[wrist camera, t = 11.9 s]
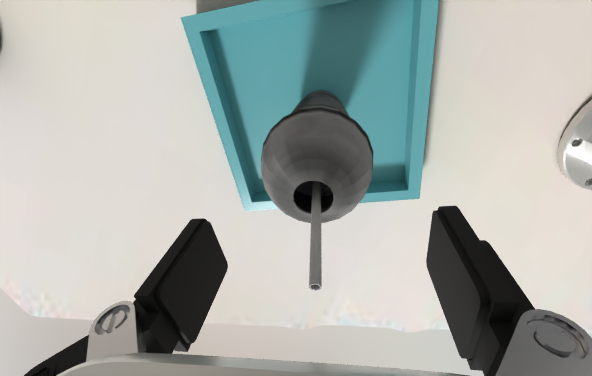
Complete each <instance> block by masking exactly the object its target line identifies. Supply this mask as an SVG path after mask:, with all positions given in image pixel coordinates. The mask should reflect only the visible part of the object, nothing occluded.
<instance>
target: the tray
mask: <svg viewBox="0 0 592 376" xmlns="http://www.w3.org/2000/svg"><path fill="white" fill-rule="evenodd" d="M438 4H439V0H259V1H254V2H250V3H245V4H241V5H236V6H232V7H227V8H222V9H218V10H213V11H209V12H204V13H200V14H195V15H191V16H186V17H182V18H181V20H182V23H183V26H184V29H185V32H186V35H187V38H188V41H189V44H190V47H191V50H192V53H193V56H194V59H195V62H196V65H197V68H198V71H199V74H200V77H201V80H202V83H203V86H204V89H205V92H206V95H207V98H208V101H209V104H210V107H211V111H212V114H213V117H214V120H215V123H216V126H217V129H218V132H219V135H220V138H221V141H222V144H223V147H224V150H225V153H226V156H227V159H228V162H229V165H230V168H231V171H232V174H233V177H234V180H235V183H236V186H237V189H238V192H239V195H240V198H241V201H242V204H243V207H244V210H245V211H255V210H269V209H279V208H278V207H277V206H276V205H275V204H274V203H273V201H272V200H271V198H270V196H269V195H268V193H267V192H266V190H265V187H264V183H263V179H262V174H261V156H262V148H263V143H264V141H265V139H266V137H267V135H268V133H269V131H270V129H271V128H272V127H273V126H274V125H276V124H277V123H278V122H279V121H280V120H281V119H282V118H283V117H284V116H287V115H289V114H291V112H292V111H293V110H294V109H295V107H296V106H297V105H298V104H299V102H300V101H301V100H302V99H303V98H304V97H305V96H307V95H308V94H309V93H311V92H313V91H318V90H324V91H329V92H331V93H332V94H334V95H336V97H337V98H338V99H339V100H340V101H341V103H342V104H343V106H344V107H345V109H346V111H347V113H348V114H349V116H350V118H352V119H354V120H355V121H357V123H358V124H359V125H360V126H361V127H362V129H363V130H364V131H365V132H366V134H367V135H368V137H369V140H370V143H371V146H372V149H373V170H372V178H371V181H370V184H369V186H368V189H367V191H366V194H365V196H364V197H363V199H362V200H361V201H360V202H359V203H366V202H380V201H393V200H407V199H420V188H421V178H422V168H423V158H424V147H425V137H426V127H427V117H428V107H429V96H430V86H431V76H432V66H433V55H434V45H435V35H436V25H437V14H438Z"/></svg>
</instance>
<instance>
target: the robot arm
mask: <svg viewBox="0 0 592 376" xmlns="http://www.w3.org/2000/svg"><path fill="white" fill-rule="evenodd" d="M557 157H558V165H559V167H560V170H561V172H562V173H563V174H564V175H565V177H566V178H568V179H569V180H571V181H572V182H573V183H575V184H576V185H578V186H580V187H582V188H585V189H589V190H592V100H591V101H589V102H588V103H587V104H586V105H585V106H584V107H583V108H582V109H581V110H580V111H579V112H578V114H577V115H576V116H575V117H574V118H573V119H572V121H571V122H570V124H569V125H568V127H567V128H566V130H565V131H564V134H563V136H562V138H561V140H560V143H559V147H558V152H557ZM426 262H427V268H428V271H429V274H430V277H431V279H432V282H433V285H434V288H435V290H436V293H437V296H438V298H439V301H440V304H441V306H442V309H443V312H444V315H445V317H446V320H447V323H448V325H449V328H450V331H451V333H452V336H453V339H454V341H455V344H456V347H457V350H458V352H459V355H460V356H461V358H466V359H467V361H468V364H469V366H470V369H471V370H482V371H483V373H484V376H592V338H591V337H590V336H589V335H588V334H587V332H586V331H585V330H584V329H582V328H581V327H580V326H578V325H577V324H576V323H575V322H573V321H571V320H569V319H568V318H566V317H564V316H562V315H560V314H557V313H554V312H551V311H547V310H541V309H536V310H535V308H534V307H533V305H532V304H531V302H530V301H529V300H528V298H527V297H526V295H525V294H524V292H523V291H522V290H521V288H520V287H519V285H518V284H517V282H516V281H515V280H514V278H513V277H512V275H511V274H510V272H509V271H508V269H507V268H506V267H505V265H504V264H503V262H502V261H501V259H500V258H499V257H498V255H497V254H496V252H495V251H494V249H493V248H492V247H491V245H490V244H489V243H488V242H487V241H485V240H479V238H478V237H477V235H476V234H475V232H474V231H473V229H472V228H471V226H470V225H469V223H468V222H467V220H466V219H465V217H464V216H463V214H462V213H461V211H460V210H459V208H458V207H457V206H442V207H439V208H438V211H433V214H432V222H431V229H430V237H429V245H428V252H427V261H426ZM227 268H228V264H227V261H226V258H225V256H224V254H223V251H222V249H221V247H220V244H219V242H218V240H217V237H216V235H215V232H214V230H213V228H212V225H211V223H210V222H207V220H206V219H192V220H190V222H189V223H188V224H187V226H186V227H185V228H184V230H183V231H182V232H181V234H180V235H179V236H178V238H177V239H176V240H175V242H174V243H173V244H172V246H171V247H170V248H169V250H168V251H167V252H166V254H165V255H164V256H163V258H162V259H161V260H160V262H159V263H158V264H157V265H156V267H155V268H154V269H153V271H152V272H151V273H150V275H149V276H148V277H147V279H146V280H145V281H144V283H143V284H142V285H141V287H140V288H139V289H138V291H137V292H136V293H135V295H134V297H135V298H136V300H135V301H134V303H132V302H130V301H122V302H118V303H116V304H113V305H112V306H110V307H108V308H107V309H105V310H104V311H103V312H102V313H101V314H100V315H99V316H98V317H97V318H96V319H95V320H94V322H93V324H92V325H91V328H90V331H89V335H88V336H86V337H84V338H82V339H81V340H79V341H77V342H76V343H74V344H72V345H71V346H69V347H67V348H66V349H64V350H62V351H60V352H59V353H57V354H55V355H54V356H52V357H50V358H49V359H47V360H45V361H43V362H42V363H40V364H38V365H37V366H35V367H34V368H33V369H31V370H30V371H29V372H28V373H27V374H25V375H24V376H468V375H460V374H453V373H443V372H431V371H420V370H409V369H397V368H383V367H369V366H355V365H340V364H327V363H312V362H296V361H281V360H266V359H251V358H234V357H219V356H201V355H183V354H172V353H173V350H175V351H183V352H188V350H189V347H190V345H191V343H194V342H195V340H196V338H197V336H198V334H199V332H200V329H201V327H202V325H203V323H204V321H205V318H206V316H207V314H208V312H209V310H210V307H211V305H212V303H213V301H214V298H215V296H216V294H217V292H218V289H219V287H220V285H221V283H222V281H223V278H224V276H225V274H226V272H227Z"/></svg>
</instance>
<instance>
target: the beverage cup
mask: <svg viewBox="0 0 592 376" xmlns="http://www.w3.org/2000/svg"><path fill="white" fill-rule="evenodd" d="M372 170H373V149H372V146H371V143H370V140H369V137H368V135H367V134H366V132H365V131H364V130H363V129H362V127H361V126H360V125H359V124H358V123H357V121H355V120H354V119H352V118H350V116H349V114H348V113H347V111H346V109H345V107H344V106H343V104H342V103H341V101H340V100H339V99H338V98H337V97H336V95H334V94H332V93H331V92H329V91H324V90H318V91H313V92H311V93H309V94H308V95H307V96H305V97H304V98H303V99H302V100H301V101H300V102H299V104H298V105H297V106H296V107H295V109H294V110H293V111H292V112H291V114H289V115H287V116H284V117H283V118H282V119H281V120H280V121H279V122H278V123H277V124H276V125H274V126H273V127H272V128H271V129H270V131H269V133H268V135H267V137H266V139H265V141H264V143H263V148H262V156H261V174H262V179H263V183H264V187H265V190H266V192H267V193H268V195H269V196H270V198H271V200H272V201H273V203H274V204H275V205H276V206H277V207H278V208H279V209H280V210H281V211H283V212H284V213H285V214H286V215H289V216H291V217H293V218H295V219H297V220H299V221H303V222H308V223H311V242H310V274H309V288H310V289H311V290H320V289H321V223H326V222H329V221H332V220H336V219H339V218H341V217H342V216H344V215H346V214H347V213H349V212H351V211H352V210H353V209H354V208H355V207H356V206H357V204H358V203H359V202H360V201H361V200H362V199H363V197H364V196H365V194H366V191H367V189H368V186H369V184H370V181H371V178H372Z"/></svg>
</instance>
